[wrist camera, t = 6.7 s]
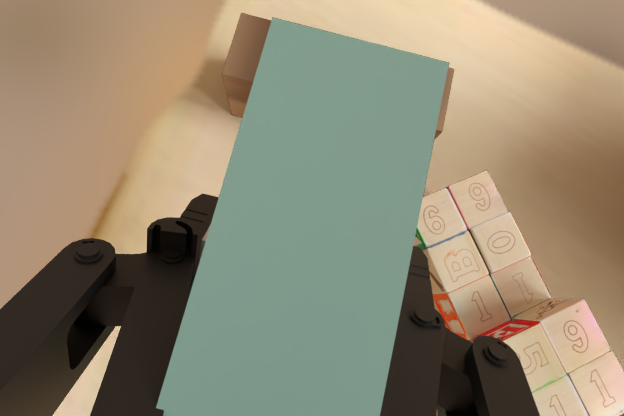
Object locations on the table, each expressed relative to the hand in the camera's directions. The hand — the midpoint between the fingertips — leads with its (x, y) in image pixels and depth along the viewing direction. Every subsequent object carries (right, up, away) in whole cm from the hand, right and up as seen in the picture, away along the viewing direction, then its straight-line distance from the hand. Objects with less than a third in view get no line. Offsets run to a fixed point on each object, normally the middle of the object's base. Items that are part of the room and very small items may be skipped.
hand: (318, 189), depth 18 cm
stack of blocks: (+12, -11, +18) cm, 24 cm away
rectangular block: (-1, -5, +4) cm, 6 cm away
